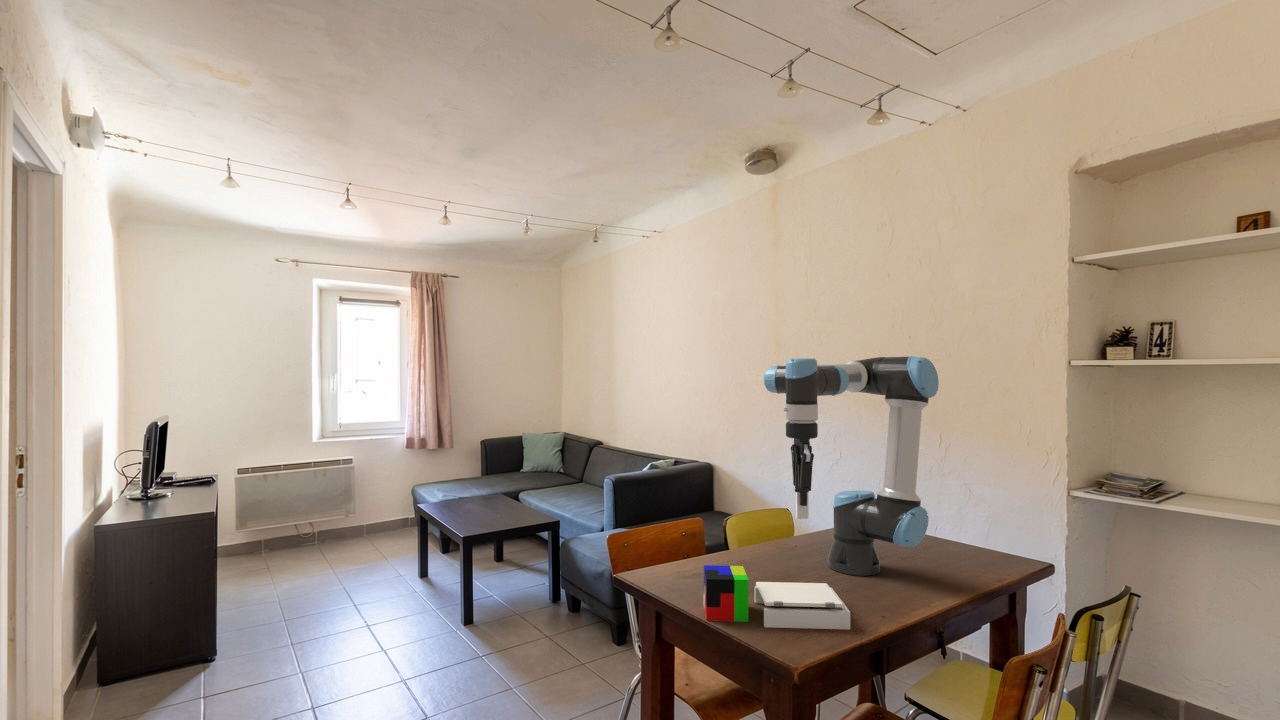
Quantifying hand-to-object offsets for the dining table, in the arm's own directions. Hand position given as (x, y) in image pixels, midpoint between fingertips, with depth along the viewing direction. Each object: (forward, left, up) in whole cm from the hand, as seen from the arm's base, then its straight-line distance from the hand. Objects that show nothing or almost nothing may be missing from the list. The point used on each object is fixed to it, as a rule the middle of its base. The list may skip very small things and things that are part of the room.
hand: (802, 517), depth 145 cm
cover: (+1, -1, -19) cm, 20 cm away
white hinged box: (+1, -1, -24) cm, 24 cm away
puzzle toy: (+18, -2, -24) cm, 31 cm away
